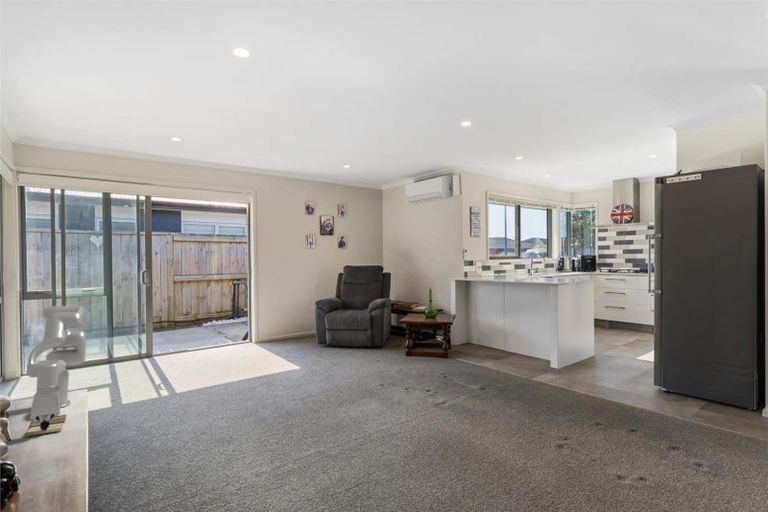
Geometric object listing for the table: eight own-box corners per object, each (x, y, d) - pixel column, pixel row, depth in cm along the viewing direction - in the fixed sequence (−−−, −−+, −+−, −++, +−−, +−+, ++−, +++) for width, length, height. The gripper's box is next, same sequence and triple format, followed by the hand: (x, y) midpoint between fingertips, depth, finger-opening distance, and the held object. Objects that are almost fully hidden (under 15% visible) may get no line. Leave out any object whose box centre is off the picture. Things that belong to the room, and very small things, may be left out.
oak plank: (30, 431, 186) (30, 427, 186) (63, 425, 193) (63, 422, 193) (26, 436, 177) (26, 432, 177) (61, 430, 184) (61, 427, 185)
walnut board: (33, 422, 196) (33, 418, 196) (66, 417, 203) (66, 413, 204) (29, 430, 187) (29, 426, 187) (64, 425, 194) (64, 421, 194)
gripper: (68, 385, 190) (65, 424, 189) (27, 390, 181) (24, 430, 180) (66, 389, 184) (64, 428, 183) (24, 394, 175) (21, 436, 174)
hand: (44, 429), depth 181 cm, fingers closed
